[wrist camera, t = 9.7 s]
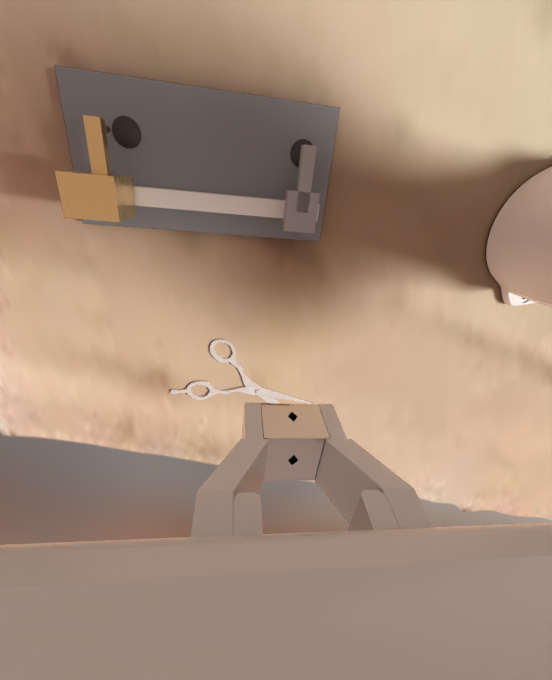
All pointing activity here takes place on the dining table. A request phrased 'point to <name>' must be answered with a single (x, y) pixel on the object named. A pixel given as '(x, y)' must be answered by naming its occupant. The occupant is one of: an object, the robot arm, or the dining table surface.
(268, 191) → the plate
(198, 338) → the dining table surface
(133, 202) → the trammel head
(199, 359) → the dining table surface
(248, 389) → the scissors
